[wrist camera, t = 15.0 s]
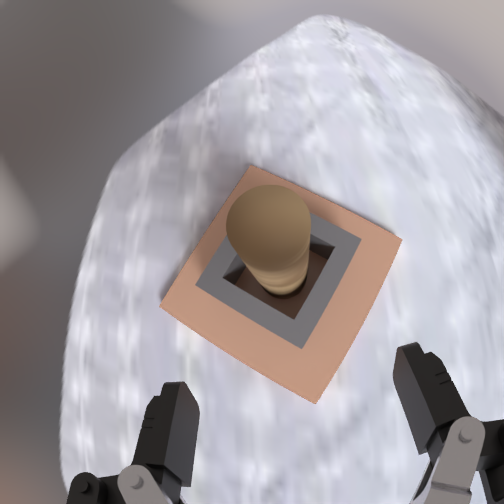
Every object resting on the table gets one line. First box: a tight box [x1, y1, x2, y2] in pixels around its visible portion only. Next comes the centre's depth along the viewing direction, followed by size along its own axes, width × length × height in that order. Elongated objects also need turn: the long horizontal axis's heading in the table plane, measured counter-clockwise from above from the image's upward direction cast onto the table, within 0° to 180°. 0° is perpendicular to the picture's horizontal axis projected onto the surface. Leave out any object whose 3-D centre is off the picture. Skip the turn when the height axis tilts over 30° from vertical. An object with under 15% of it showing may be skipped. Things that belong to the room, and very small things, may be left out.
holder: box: [159, 165, 402, 404], centre depth 24 cm, size 16×16×5 cm
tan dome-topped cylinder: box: [226, 185, 311, 299], centre depth 20 cm, size 4×4×12 cm
